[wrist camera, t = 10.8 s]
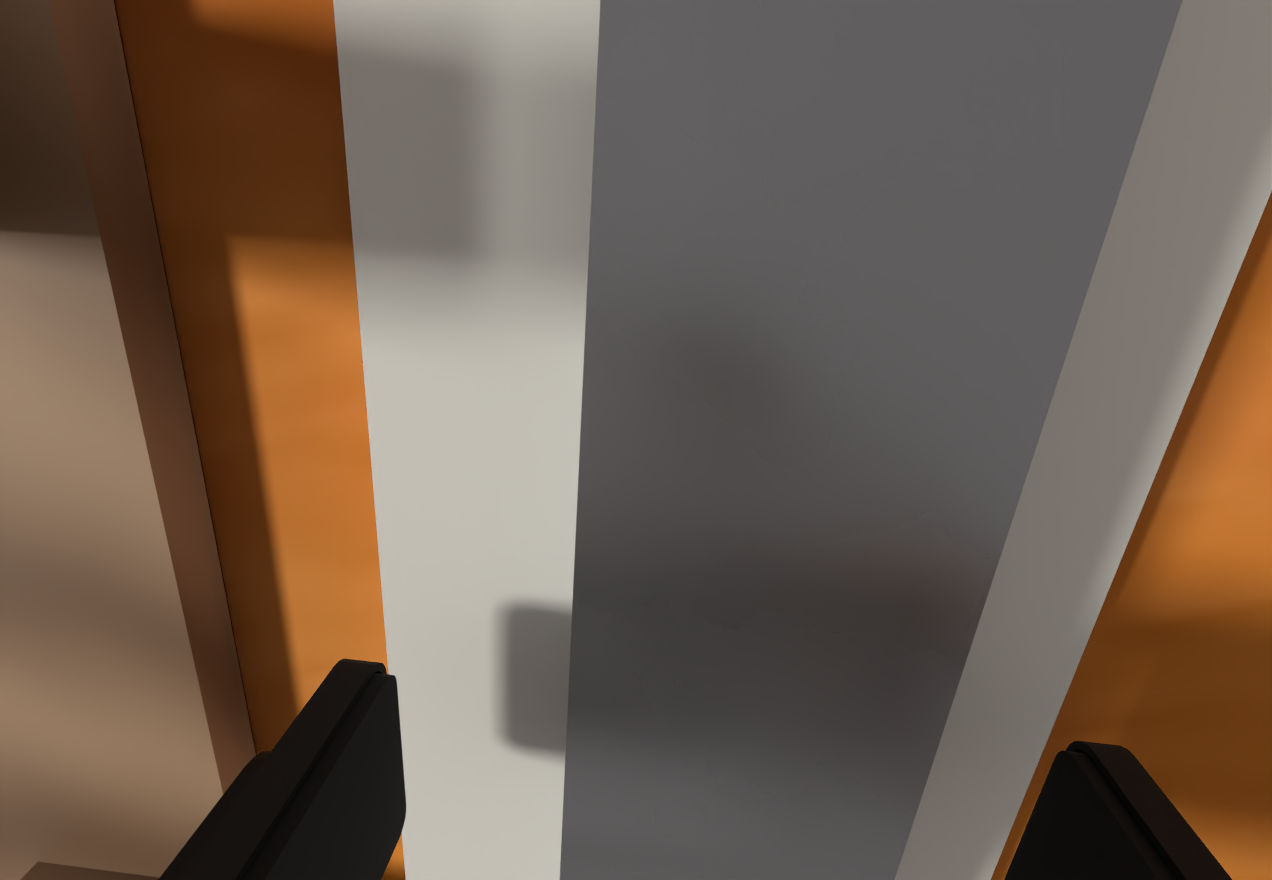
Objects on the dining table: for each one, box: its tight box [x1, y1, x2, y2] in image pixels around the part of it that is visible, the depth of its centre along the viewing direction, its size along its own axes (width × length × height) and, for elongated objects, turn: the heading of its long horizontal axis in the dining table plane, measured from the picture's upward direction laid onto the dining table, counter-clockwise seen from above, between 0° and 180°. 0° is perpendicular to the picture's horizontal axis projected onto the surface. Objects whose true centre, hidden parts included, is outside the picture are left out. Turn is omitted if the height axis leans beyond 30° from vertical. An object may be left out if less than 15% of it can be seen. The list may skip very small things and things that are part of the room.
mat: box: [333, 0, 1272, 880], centre depth 11 cm, size 28×11×1 cm, turn 176°
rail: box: [560, 0, 1183, 880], centre depth 9 cm, size 27×4×4 cm, turn 176°
